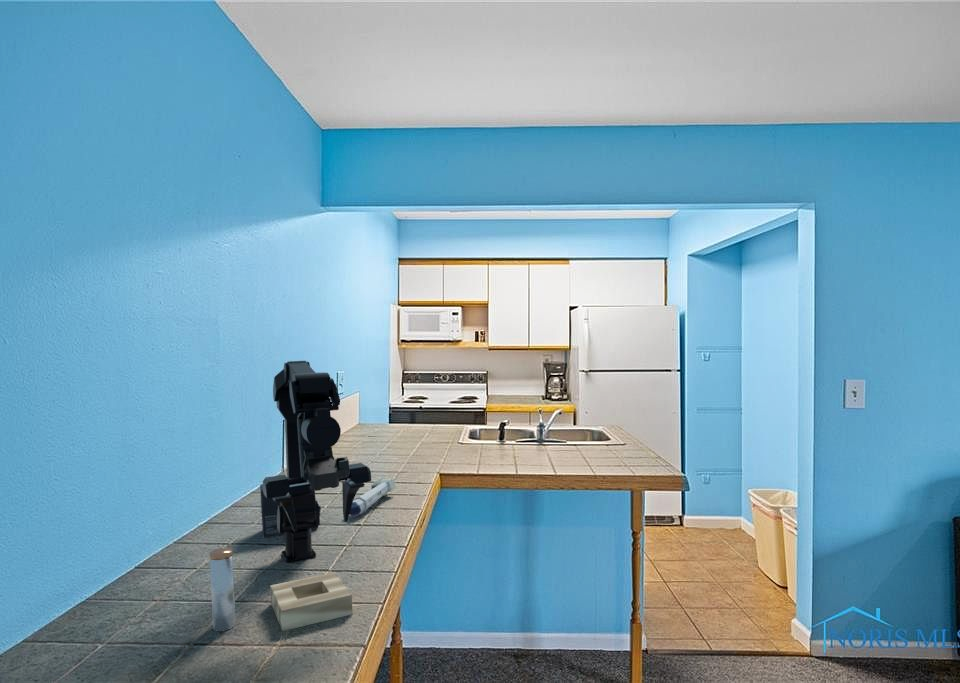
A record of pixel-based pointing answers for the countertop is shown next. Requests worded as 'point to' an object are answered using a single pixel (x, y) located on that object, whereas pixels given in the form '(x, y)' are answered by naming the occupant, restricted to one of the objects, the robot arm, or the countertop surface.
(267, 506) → the small box
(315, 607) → the socket block
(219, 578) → the copper capped silver cylinder
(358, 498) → the white blue cylinder
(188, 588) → the countertop surface
